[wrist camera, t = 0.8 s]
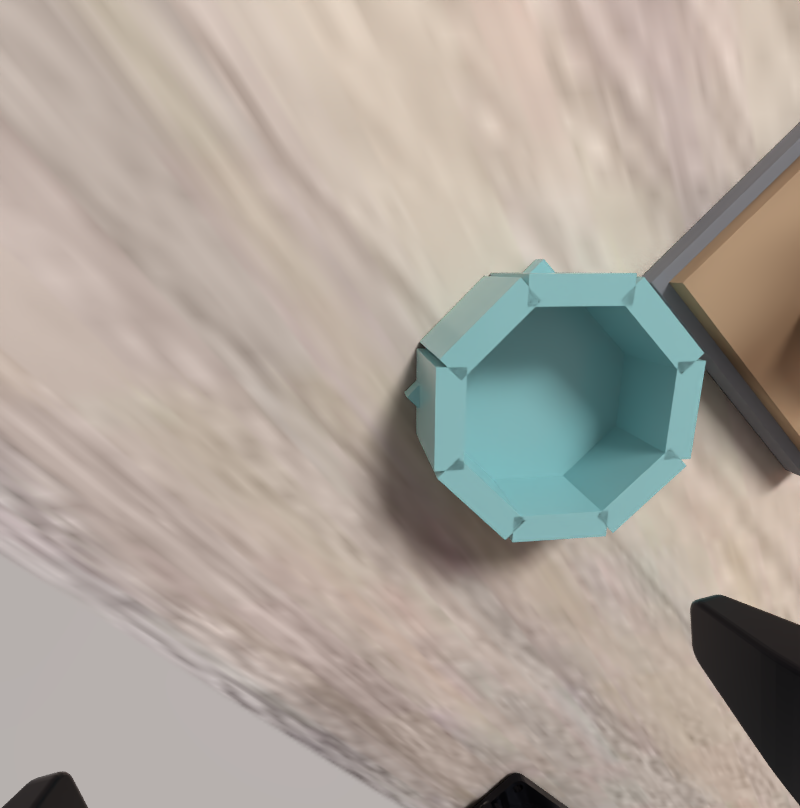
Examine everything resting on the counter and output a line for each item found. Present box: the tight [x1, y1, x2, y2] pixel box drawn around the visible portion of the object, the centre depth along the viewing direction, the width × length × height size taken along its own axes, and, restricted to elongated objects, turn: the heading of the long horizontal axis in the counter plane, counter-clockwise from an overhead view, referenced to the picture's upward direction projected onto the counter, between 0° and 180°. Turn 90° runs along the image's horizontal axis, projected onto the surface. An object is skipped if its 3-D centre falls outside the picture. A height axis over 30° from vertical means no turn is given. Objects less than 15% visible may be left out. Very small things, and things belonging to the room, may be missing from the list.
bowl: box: [404, 259, 706, 542], centre depth 18 cm, size 9×9×4 cm
